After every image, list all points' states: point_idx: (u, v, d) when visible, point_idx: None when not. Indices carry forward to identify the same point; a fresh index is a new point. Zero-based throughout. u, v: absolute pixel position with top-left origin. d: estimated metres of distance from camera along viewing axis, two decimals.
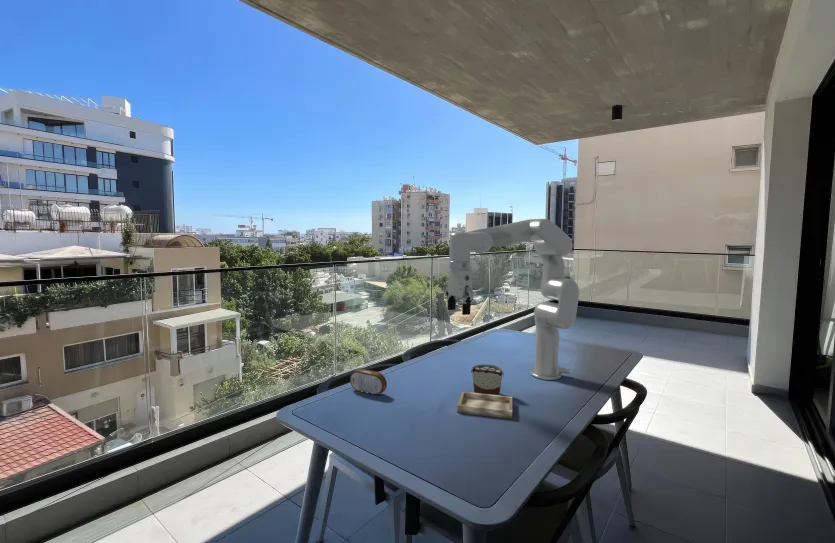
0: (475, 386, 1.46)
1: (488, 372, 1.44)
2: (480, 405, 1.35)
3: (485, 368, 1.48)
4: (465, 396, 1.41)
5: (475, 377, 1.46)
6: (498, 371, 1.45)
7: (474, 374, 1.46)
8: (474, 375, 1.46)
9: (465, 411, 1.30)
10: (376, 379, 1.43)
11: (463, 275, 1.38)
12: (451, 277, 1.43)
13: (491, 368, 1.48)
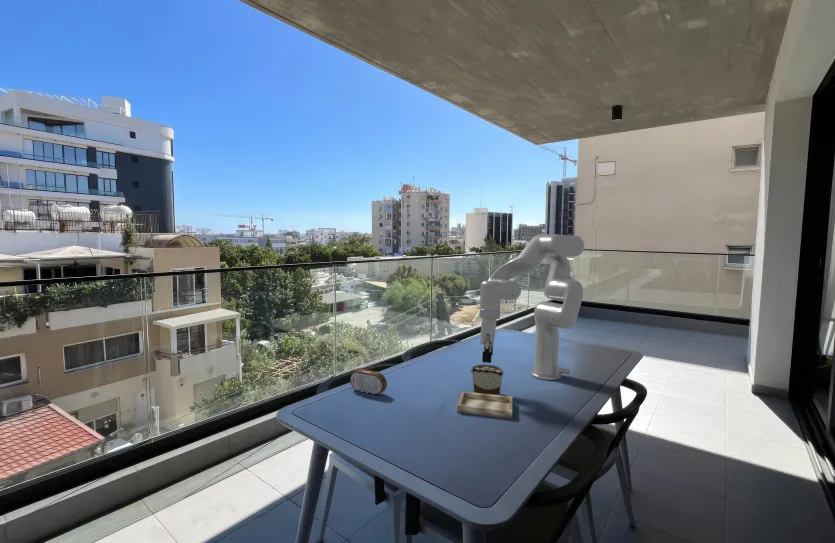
0: (475, 386, 1.46)
1: (488, 372, 1.44)
2: (480, 405, 1.35)
3: (485, 368, 1.48)
4: (465, 396, 1.41)
5: (475, 377, 1.46)
6: (498, 371, 1.45)
7: (474, 374, 1.46)
8: (474, 375, 1.46)
9: (465, 411, 1.30)
10: (376, 379, 1.43)
11: None
12: (495, 326, 1.44)
13: (491, 368, 1.48)
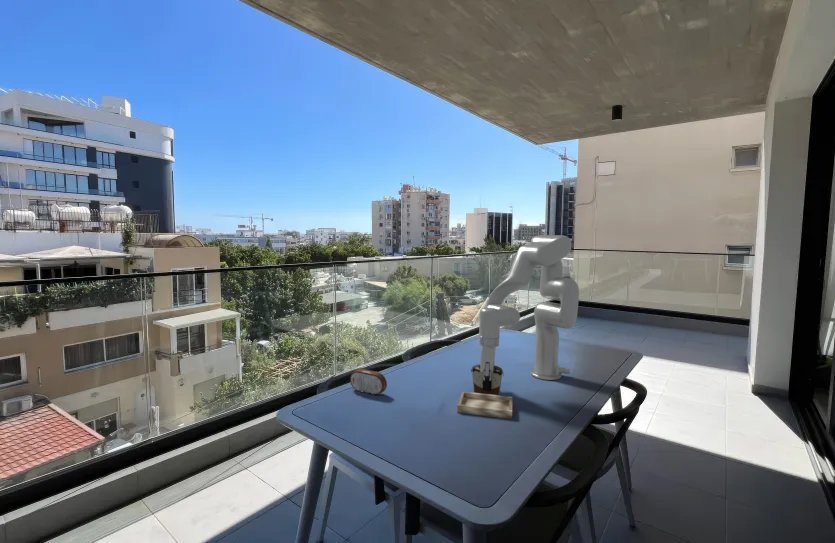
0: (475, 386, 1.47)
1: None
2: (480, 405, 1.35)
3: None
4: (465, 396, 1.41)
5: (475, 377, 1.46)
6: (498, 371, 1.45)
7: (474, 374, 1.46)
8: (474, 375, 1.46)
9: (465, 411, 1.30)
10: (376, 379, 1.43)
11: None
12: None
13: None
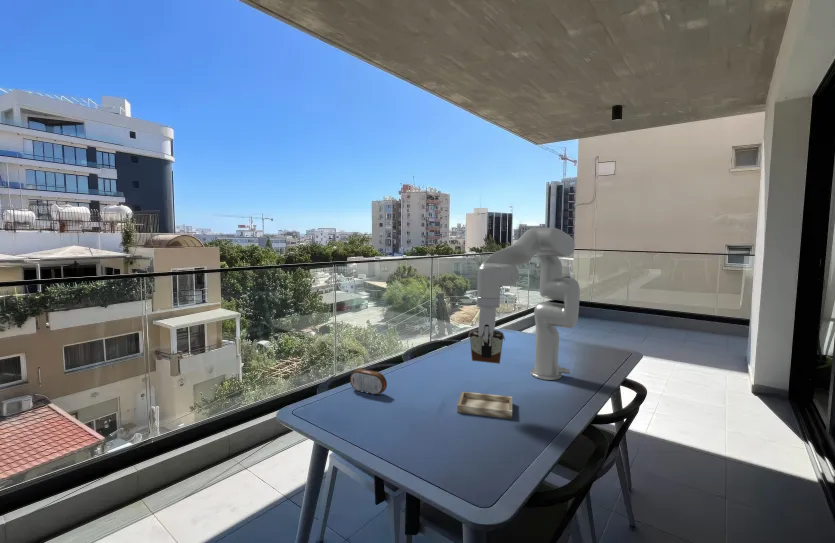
0: (473, 352, 1.32)
1: None
2: (480, 405, 1.35)
3: None
4: (465, 396, 1.41)
5: (473, 342, 1.32)
6: (498, 335, 1.30)
7: (472, 339, 1.32)
8: (472, 340, 1.32)
9: (465, 411, 1.30)
10: (376, 379, 1.43)
11: None
12: (495, 315, 1.30)
13: None
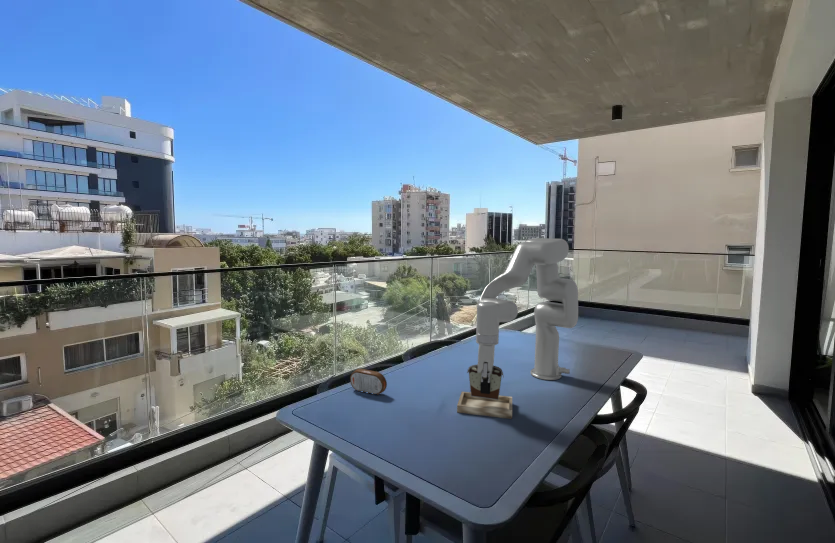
0: (472, 388, 1.33)
1: None
2: (480, 405, 1.35)
3: None
4: (465, 396, 1.41)
5: (472, 378, 1.33)
6: (497, 371, 1.31)
7: (471, 375, 1.33)
8: (471, 376, 1.33)
9: (465, 411, 1.30)
10: (376, 379, 1.43)
11: None
12: None
13: None
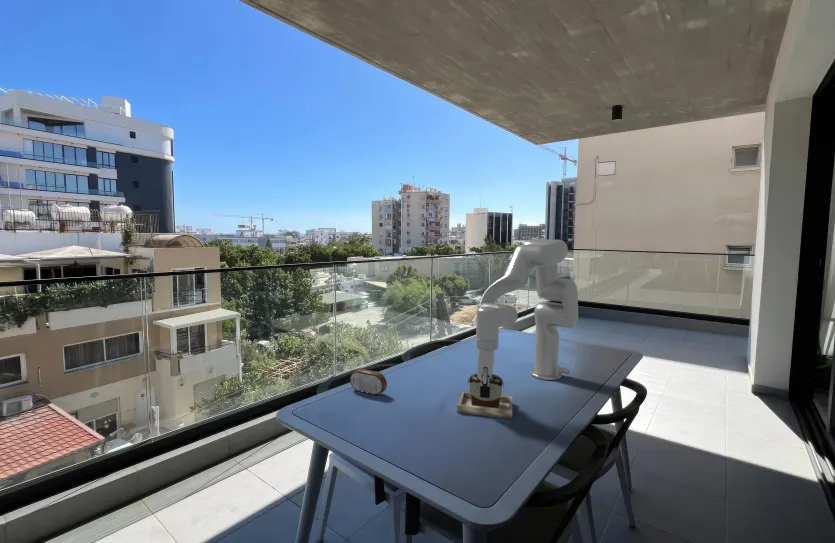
0: (472, 397, 1.34)
1: None
2: None
3: None
4: (465, 396, 1.41)
5: (473, 388, 1.34)
6: (497, 381, 1.32)
7: (471, 384, 1.34)
8: (471, 386, 1.34)
9: (465, 411, 1.30)
10: (376, 379, 1.43)
11: None
12: (493, 357, 1.31)
13: None
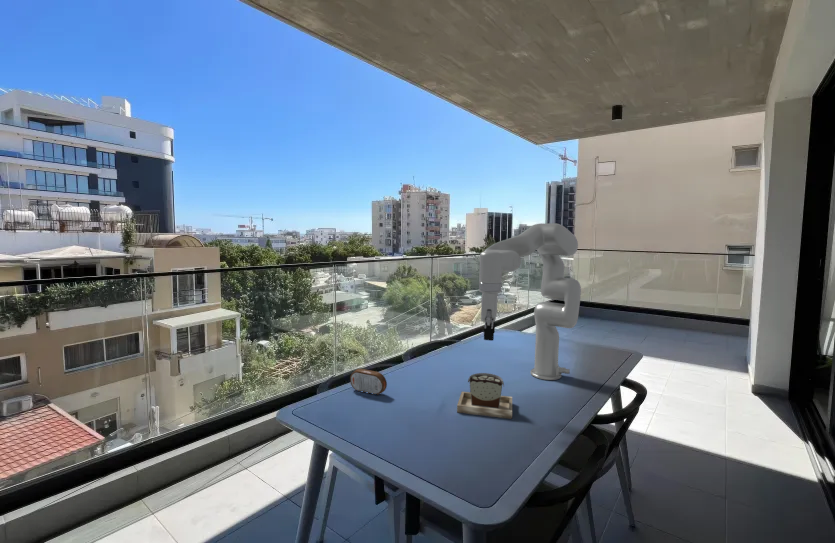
0: (473, 397, 1.34)
1: (487, 382, 1.32)
2: None
3: (483, 377, 1.36)
4: (465, 396, 1.41)
5: (473, 387, 1.34)
6: (497, 380, 1.33)
7: (471, 384, 1.34)
8: (471, 385, 1.34)
9: (465, 411, 1.30)
10: (376, 379, 1.43)
11: None
12: (497, 300, 1.32)
13: (490, 377, 1.36)
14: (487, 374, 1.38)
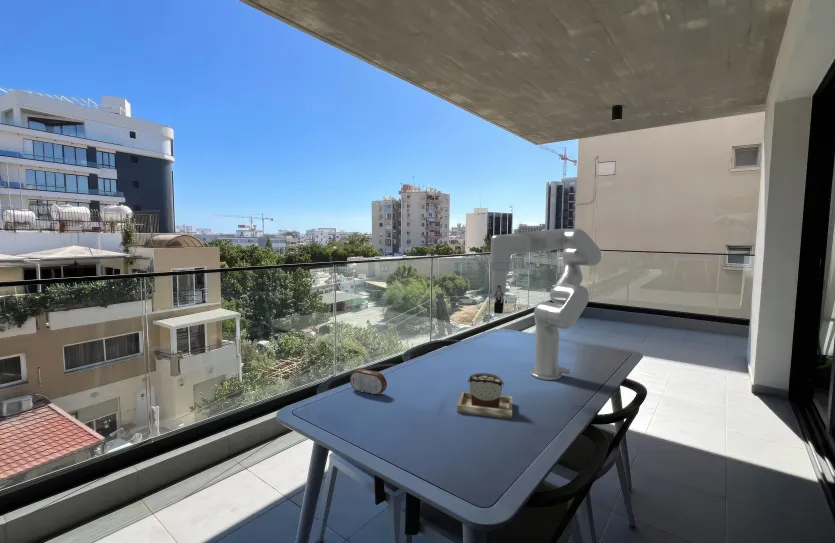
0: (473, 397, 1.34)
1: (487, 382, 1.32)
2: None
3: (483, 377, 1.36)
4: (465, 396, 1.41)
5: (473, 387, 1.34)
6: (497, 380, 1.33)
7: (471, 384, 1.34)
8: (471, 385, 1.34)
9: (465, 411, 1.30)
10: (376, 379, 1.43)
11: None
12: (506, 278, 1.48)
13: (490, 377, 1.36)
14: (487, 374, 1.38)
